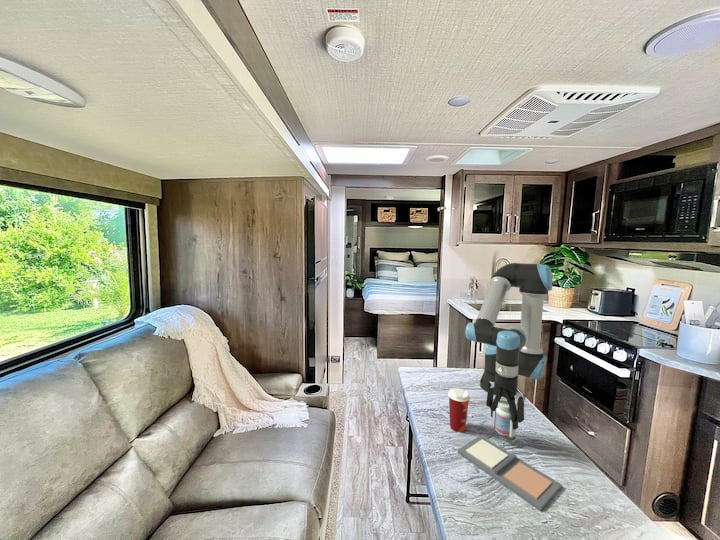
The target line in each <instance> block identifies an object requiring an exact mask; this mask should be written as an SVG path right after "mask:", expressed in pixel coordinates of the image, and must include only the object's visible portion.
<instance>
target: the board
mask: <svg viewBox="0 0 720 540" xmlns="http://www.w3.org/2000/svg"><path fill="white" fill-rule="evenodd" d="M457 453H458V455H460V456H462V457H463V458H465V460H467V461H469V462H470V463H471V464H473V465H474V466H476V467H477V468H479V469H480V470H481V471H483V472H484V473H485V474H487V475H489V476H490V477H491V478H493V479H494V480H496V481H497V482H499V484H501V485H503V486H504V487H506V488H507V489H509V490H510V491H511V492H513V493H514V494H516V495H517V496H518V497H520V498H521V499H522V500H523V501H526V502H527V503H528V504H530V505H531V506H532V507H534V509H536V510H537V511H539V512H541V511H542V510H543V509H544V508H545V507H546V505H548V504H549V502H550V501H551V500H552V499H553V498H554V497H555V496H556V494H557V493H559V491H560V490H561V489H562V488H563V484H562V483H561V482H558V481H557V480H556V479H554V478H552V477H550V476H549V475H548V474H546V473H543V472H542V471H540V470H539V469H537V468H535V467H533V466H532V465H530V464H529V463H527V462H526V461H524V460H522V459H521V458H519V457H518V456H517V455H516V454H512V453H511V452H509V451H507V450H506V449H505V448H503V447H500V446H499V445H497V443H496V444H495V443H494V442H492V441H491V440H489V439H487V438H486V437H484V436H482V435H478V436H477V437H475V438H474V439H472V440H471V441H469V442H467V443H466V444H464V445H463V446H461V447H460V448H458V449H457Z"/></svg>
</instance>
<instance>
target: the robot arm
mask: <svg viewBox="0 0 720 540" xmlns="http://www.w3.org/2000/svg"><path fill="white" fill-rule="evenodd" d="M553 282H554V281H553V272H552V269H551V266H549V265H548V264H540V263H520V262H511V263H507V264H504V265H503V266H501V267H499V268H498V269H497V270H496V271H495V272H494V273H493V274H492V275H491V278H490V280H489V287H488V289H487V292H486V295H485V297H484V301H483V302H482V305H481V308H480V310H479V312H478V314H477V316H476V319H475V322H468V323H467V324H466V326H465V331H464V333H465V338H466V339H467V340H469V341H472V342H475V343H479V344H485V345H486V346H485V351H484V369H483V373H482V375H481V378H480V380H479V387H480V388H481V389H482V390H484V391H486V392H487V395H486V404H485V405H486V407H488V408H490V416H491V418H492V422H491V423H492V428H494V429H495V420H496V408H497V407H498V402H499V401H501V399H502V398H504V399H506V401H507V402H508V404H509V408H510V412H511V416H512V419H511V420H510V432H509V437H510V438H512V437H514V436H516V430H517V429H518V428H519V423H520V424H521V423H522V422H523V421H524V420H525V399H526V395H525V394H521V393H520V392H519V390H518V380H519V379H518V378H519V376H522V377H525V378H528V379H534V380H541V378H542V377H543V375H544V371H545V367H546V364H547V360H548V359H547V358H548V357H547V356H546V355H544V350H543V349H542V348H541V338H542V337H541V336H542V335H541V334H542V324H543V323H542V322H543V321H542V320H543V309H544V299H545V297H546V296H547V295H548V294H549V292H551V291H552V290H553ZM513 287H514V288H519V290H518V291H519V293H520V294H521V295H522V297H521V299H522V300H521V315H520V327H512V328H509V329H508V328H504V327H498V326H495V324H496V322H497V320H498V317H499V314H500V312H501V309H502V306H503V303H504V300H505V298H506V295H507V292H509V291H510V290H511V289H512V288H513ZM494 395H495V397H494ZM516 400H517V403H516Z"/></svg>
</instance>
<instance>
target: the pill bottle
mask: <svg viewBox="0 0 720 540" xmlns="http://www.w3.org/2000/svg"><path fill="white" fill-rule="evenodd" d="M511 419H512V416H511V412H510V408H509V404H508V402H507V400H503V399H502V400H500V401H499V402H498V406H497V408H496V420H495V428H494V429H495V431H496V432H497V433H498V434H499V435H502V436H503V437H504V436H505V437H506V436H507V437H508V436H509V432H510V420H511Z"/></svg>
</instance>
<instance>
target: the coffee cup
mask: <svg viewBox="0 0 720 540" xmlns="http://www.w3.org/2000/svg"><path fill="white" fill-rule="evenodd" d="M447 395H448V397H449V399H448V401H449V403H448V404H449V405H448V408H449V427H450V429H451V430H452V431H454V432H457V433H463V432H465V430H466V426H467V420H468V419H467V417H468V410H469V401H470V397H471V396H470V395H469V392H468V391H467V390H465V389H462V388H457V387H456V388H450V390H449V392H448V394H447Z"/></svg>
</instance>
